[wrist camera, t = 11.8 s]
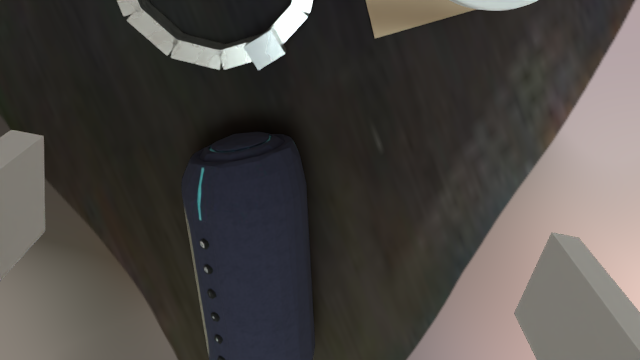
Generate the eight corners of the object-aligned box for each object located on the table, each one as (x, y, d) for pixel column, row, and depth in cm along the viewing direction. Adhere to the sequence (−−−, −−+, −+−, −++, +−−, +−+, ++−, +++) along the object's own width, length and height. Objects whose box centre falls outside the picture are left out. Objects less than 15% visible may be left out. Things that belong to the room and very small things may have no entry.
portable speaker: (191, 117, 46) (156, 163, 37) (306, 114, 46) (299, 159, 37) (224, 343, 57) (203, 422, 48) (318, 342, 56) (315, 421, 47)
